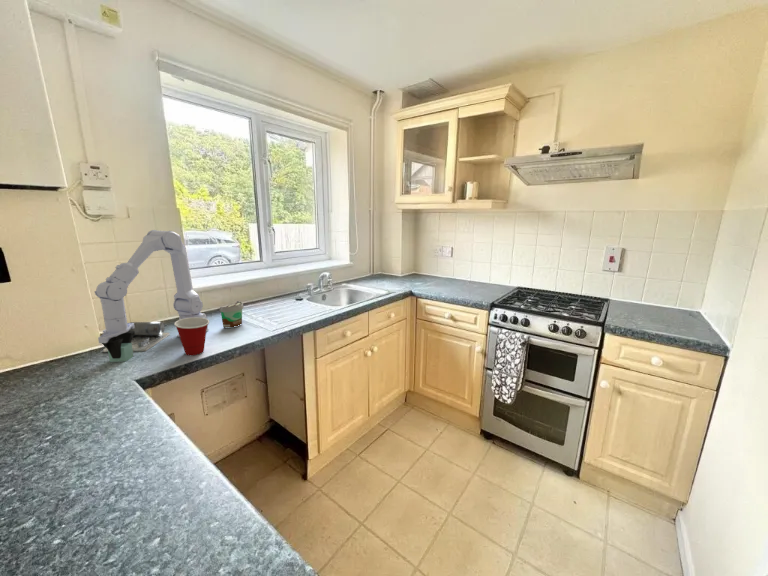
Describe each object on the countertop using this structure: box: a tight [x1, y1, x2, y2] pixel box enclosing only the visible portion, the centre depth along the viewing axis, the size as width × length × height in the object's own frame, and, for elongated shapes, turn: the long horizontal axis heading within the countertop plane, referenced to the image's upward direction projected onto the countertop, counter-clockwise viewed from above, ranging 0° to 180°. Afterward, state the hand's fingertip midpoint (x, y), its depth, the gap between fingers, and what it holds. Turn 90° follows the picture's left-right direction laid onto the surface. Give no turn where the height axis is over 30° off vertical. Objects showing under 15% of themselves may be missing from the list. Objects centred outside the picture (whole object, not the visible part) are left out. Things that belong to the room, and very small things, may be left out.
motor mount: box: [102, 321, 171, 353], centre depth 122 cm, size 14×16×7 cm
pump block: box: [107, 343, 134, 363], centre depth 108 cm, size 5×4×5 cm
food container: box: [219, 300, 245, 328], centre depth 144 cm, size 12×6×10 cm, turn 168°
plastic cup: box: [174, 317, 210, 356], centre depth 114 cm, size 11×11×12 cm
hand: (121, 355), depth 108 cm, fingers closed on pump block, 4 cm apart
